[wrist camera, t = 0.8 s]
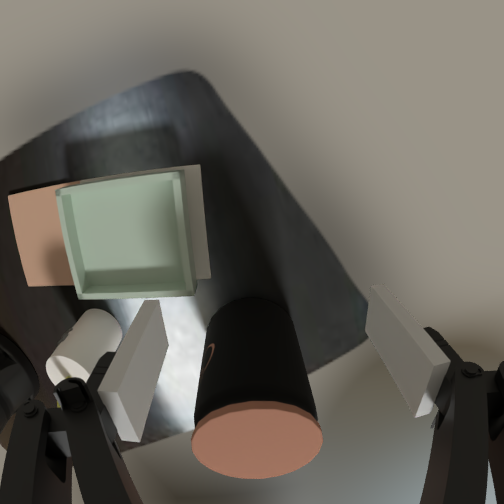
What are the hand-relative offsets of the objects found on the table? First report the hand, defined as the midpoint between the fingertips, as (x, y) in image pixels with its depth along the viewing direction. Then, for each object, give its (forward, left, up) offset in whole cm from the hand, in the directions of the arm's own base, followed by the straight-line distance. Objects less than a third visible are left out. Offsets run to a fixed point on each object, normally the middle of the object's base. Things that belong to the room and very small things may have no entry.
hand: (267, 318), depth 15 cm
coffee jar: (-1, -14, -20) cm, 24 cm away
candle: (-21, -13, -20) cm, 32 cm away
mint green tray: (-13, 0, -20) cm, 24 cm away
